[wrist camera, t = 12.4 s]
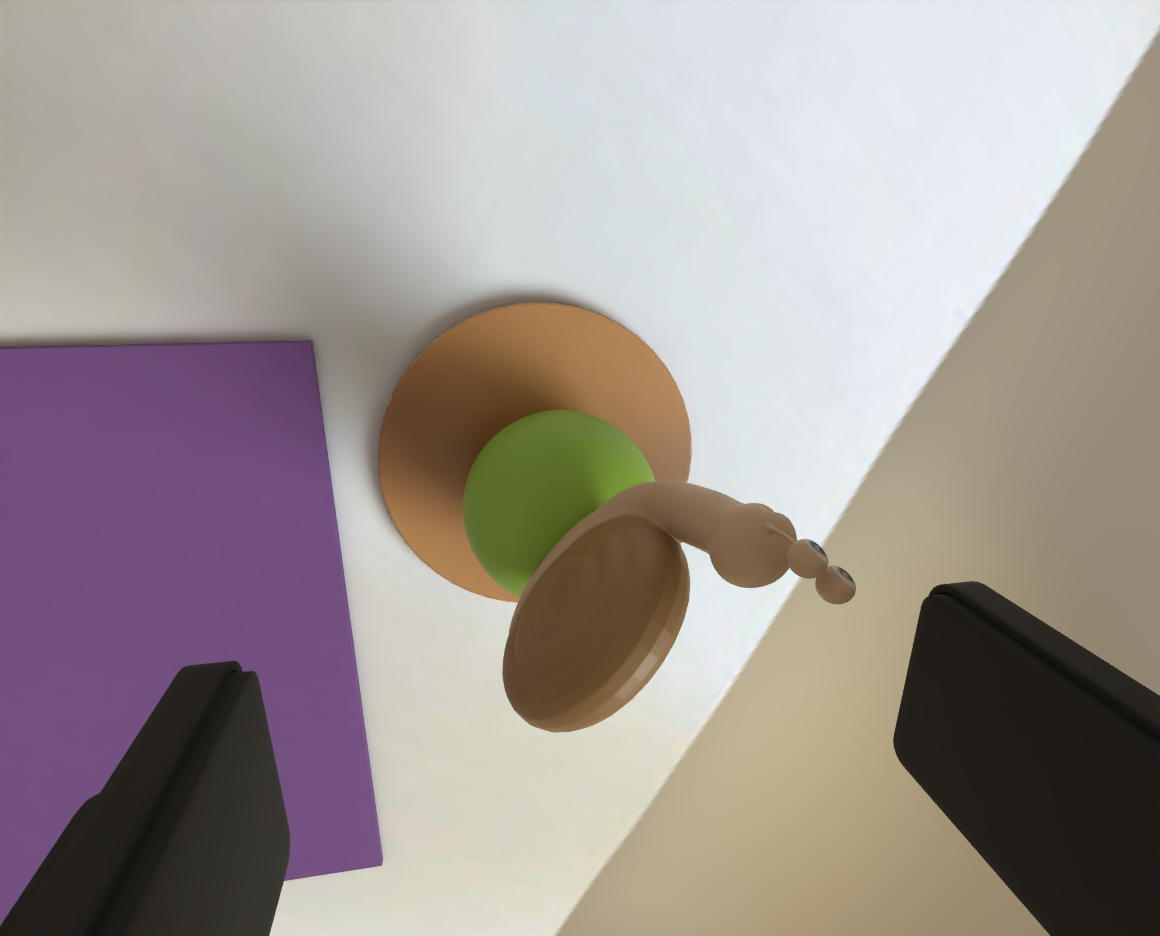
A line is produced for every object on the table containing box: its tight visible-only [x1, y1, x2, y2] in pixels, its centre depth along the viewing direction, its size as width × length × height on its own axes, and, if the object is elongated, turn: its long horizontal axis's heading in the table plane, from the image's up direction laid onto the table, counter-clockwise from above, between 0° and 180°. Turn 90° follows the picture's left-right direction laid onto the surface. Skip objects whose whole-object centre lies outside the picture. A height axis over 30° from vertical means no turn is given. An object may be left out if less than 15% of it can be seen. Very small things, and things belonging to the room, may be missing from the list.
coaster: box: [378, 302, 691, 602], centre depth 20 cm, size 10×10×1 cm
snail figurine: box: [463, 410, 856, 732], centre depth 14 cm, size 5×6×12 cm
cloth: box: [0, 341, 383, 925], centre depth 20 cm, size 20×13×1 cm, turn 0°
